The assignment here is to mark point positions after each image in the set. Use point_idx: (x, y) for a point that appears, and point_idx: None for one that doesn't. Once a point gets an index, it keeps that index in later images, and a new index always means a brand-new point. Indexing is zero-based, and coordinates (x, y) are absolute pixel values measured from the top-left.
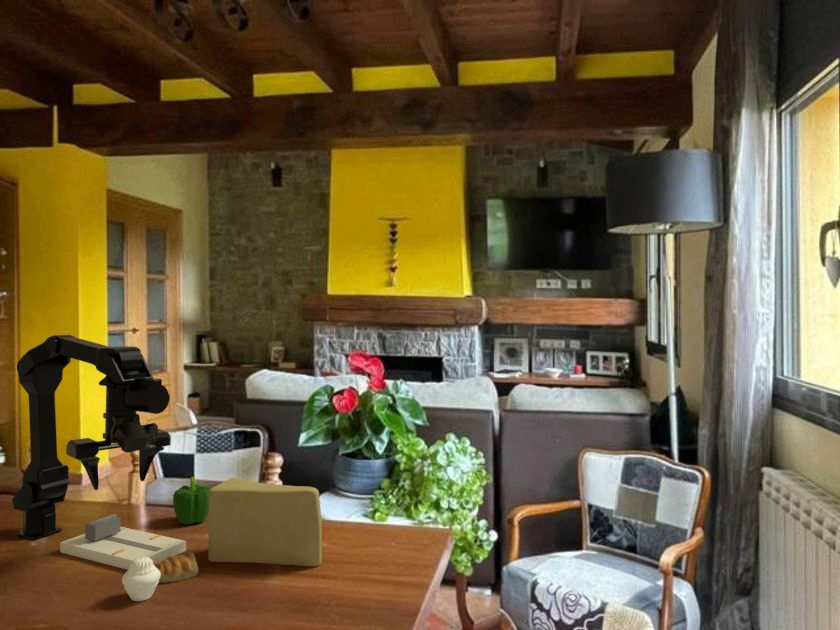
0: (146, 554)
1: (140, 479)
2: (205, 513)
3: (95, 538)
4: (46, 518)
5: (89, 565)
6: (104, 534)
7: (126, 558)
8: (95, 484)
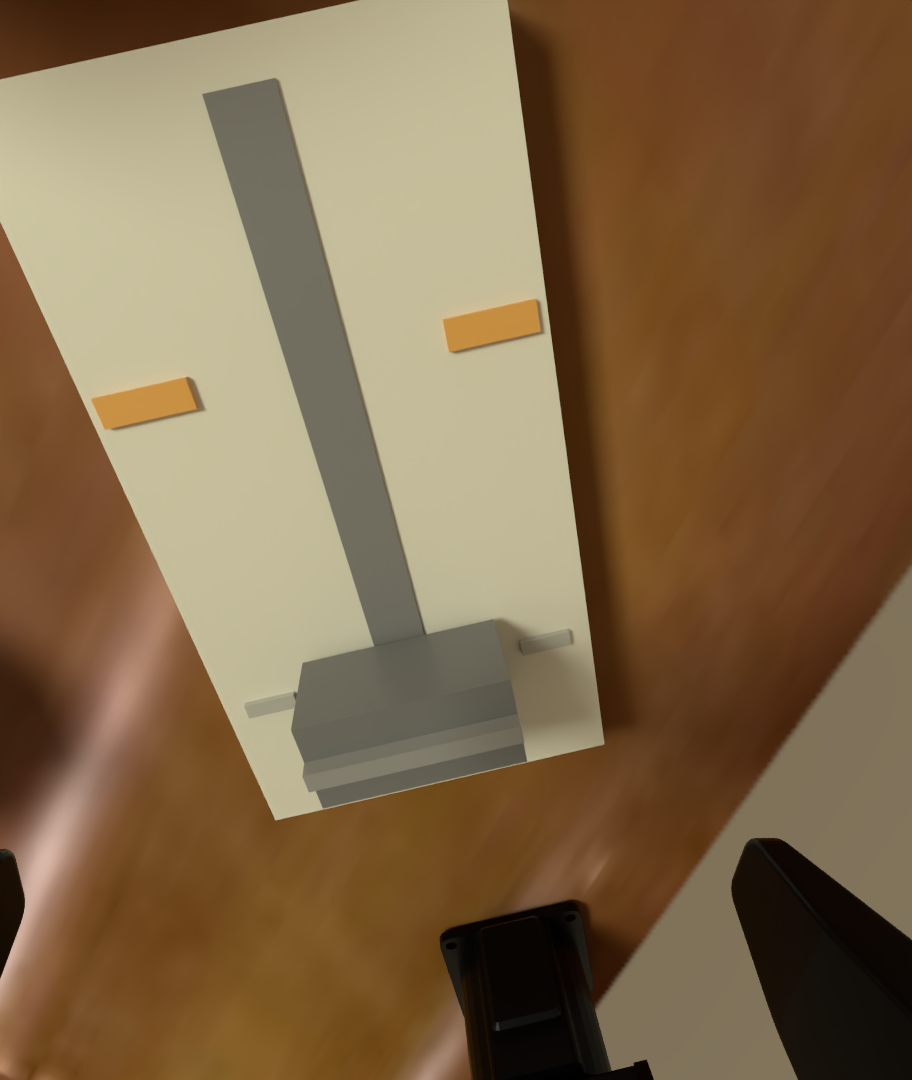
0: (367, 81)
1: (15, 918)
2: None
3: (495, 627)
4: (545, 997)
5: (605, 422)
6: (427, 645)
7: (519, 141)
8: (862, 907)
